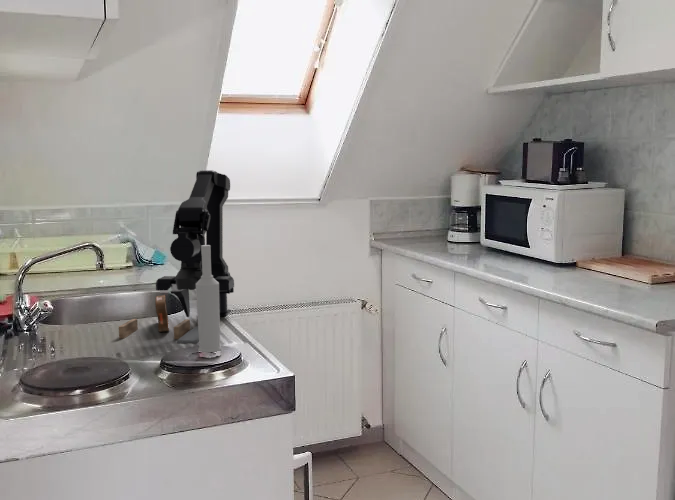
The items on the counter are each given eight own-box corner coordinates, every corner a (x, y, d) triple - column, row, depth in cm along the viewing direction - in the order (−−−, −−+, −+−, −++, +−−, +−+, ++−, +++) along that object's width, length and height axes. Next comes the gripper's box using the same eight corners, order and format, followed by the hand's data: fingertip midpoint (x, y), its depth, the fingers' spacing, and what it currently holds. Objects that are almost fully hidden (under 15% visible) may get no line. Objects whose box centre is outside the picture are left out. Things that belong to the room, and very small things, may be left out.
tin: (169, 334, 178) (167, 302, 177) (156, 335, 177) (154, 303, 176) (168, 322, 192) (167, 292, 191) (156, 323, 191) (155, 292, 190)
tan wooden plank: (133, 329, 183) (132, 318, 183) (190, 330, 182) (189, 319, 181) (119, 338, 174) (118, 326, 174) (178, 339, 173) (178, 327, 172)
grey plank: (197, 327, 185) (197, 325, 185) (215, 327, 184) (215, 325, 184) (177, 342, 169) (177, 340, 169) (197, 342, 169) (197, 340, 169)
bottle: (226, 353, 159) (221, 244, 156) (214, 359, 154) (210, 247, 151) (206, 351, 160) (201, 244, 157) (194, 357, 156) (189, 246, 153)
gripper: (145, 260, 167) (149, 323, 169) (221, 260, 165) (224, 324, 167) (162, 254, 178) (165, 314, 180) (233, 254, 176) (235, 314, 178)
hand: (196, 316), depth 176 cm, fingers open, 4 cm apart
